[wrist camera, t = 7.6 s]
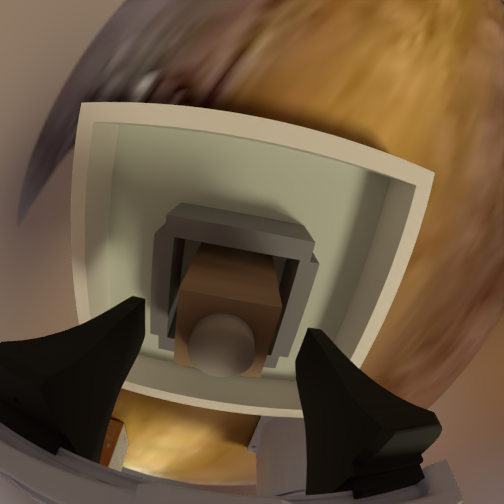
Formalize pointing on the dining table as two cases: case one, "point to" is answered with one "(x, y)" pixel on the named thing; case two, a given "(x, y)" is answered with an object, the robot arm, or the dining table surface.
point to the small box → (114, 446)
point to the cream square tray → (237, 234)
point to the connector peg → (227, 312)
